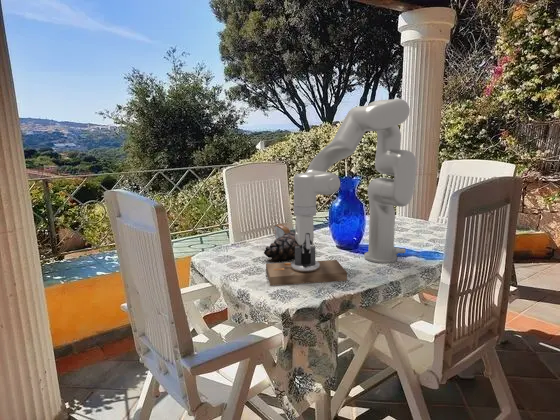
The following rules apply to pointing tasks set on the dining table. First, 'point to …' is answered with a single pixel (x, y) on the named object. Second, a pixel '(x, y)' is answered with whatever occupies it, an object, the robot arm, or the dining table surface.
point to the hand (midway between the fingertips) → (304, 261)
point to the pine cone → (282, 248)
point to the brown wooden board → (305, 273)
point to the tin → (280, 230)
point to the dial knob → (311, 267)
